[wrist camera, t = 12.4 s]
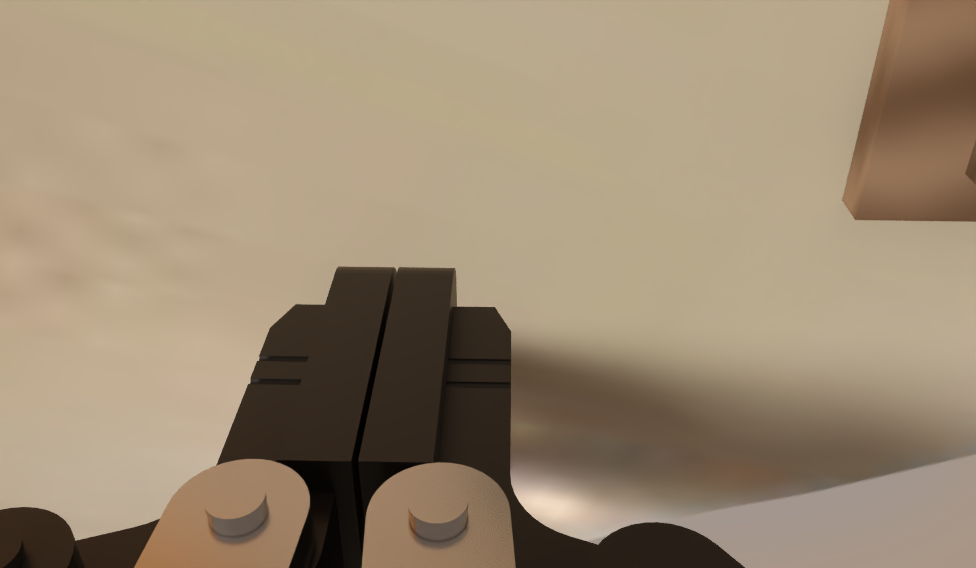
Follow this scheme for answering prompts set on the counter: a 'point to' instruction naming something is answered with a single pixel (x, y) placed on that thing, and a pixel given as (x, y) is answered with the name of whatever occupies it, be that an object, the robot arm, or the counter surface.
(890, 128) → the valve rig
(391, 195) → the counter surface
